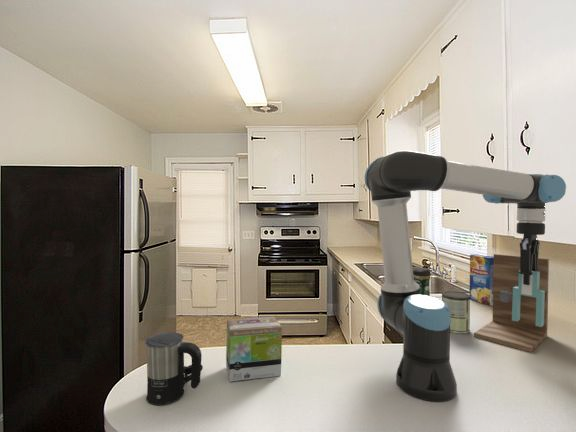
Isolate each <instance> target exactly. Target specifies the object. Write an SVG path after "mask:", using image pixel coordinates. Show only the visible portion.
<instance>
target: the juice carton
mask: <svg viewBox="0 0 576 432" xmlns="http://www.w3.org/2000/svg"><path fill="white" fill-rule="evenodd" d="M493 262H494V255H488V254H482V253H480V254H479V253H478V254H470V255H469V293H468V294H469V295H470V301H474V302H476V303H480V304H484V305H487V306H493Z"/></svg>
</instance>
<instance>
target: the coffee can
mask: <svg viewBox="0 0 576 432" xmlns="http://www.w3.org/2000/svg"><path fill="white" fill-rule="evenodd" d="M441 301H443V302H444V303H446V304H447V306H448V307H449V309H450V317H451V324H450V333H454V334H462V333H463V334H468V333H470V332H471V330H470V328H471V327H470V323H471V317H470V316H471V312H470V311H471V300H470V295H469V293H465V292H461V291H456V290H455V291H453V290H452V291H451V290H449V291H448V290H447V291H443V292H441Z"/></svg>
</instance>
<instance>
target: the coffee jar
mask: <svg viewBox="0 0 576 432" xmlns="http://www.w3.org/2000/svg"><path fill="white" fill-rule="evenodd" d="M412 267H413V266H412ZM413 277H414V281H415V282H416V283H417V284H418V285H419V286H420V294H421V295H427V296H430V297H431V295H430V294H431V293H430V279H431V278H432V277H431V270H430V269H429V268H424V267H419V266H414V267H413Z"/></svg>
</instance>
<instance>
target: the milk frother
mask: <svg viewBox="0 0 576 432" xmlns="http://www.w3.org/2000/svg"><path fill="white" fill-rule="evenodd" d="M183 339H184V335H183V334H182V333H179V332H161V333H158V334H154V335H152V336H150V337H148V338H147V339H146V340H145V342H144V343H145V346H146V368H147V369H146V370H147V371H146V375H147V376H146V377H147V382H146V383H147V385H146V387H147V390H146V393H147V394H146V395H145V399H146V401H147V403H148V404H150V405H151V406H152V405H153V406H164V405H170V404H172V403H174V402H176V401H178V400H180V399H181V398H182V397H183V396H184V395H185V389H184V388H185V385H186V384H188V383H189V382H190V387H191V388H192V389H196V388H198V387H199V385H200V383H201V372H202V371H203V368H204V366H203V365H202V358H203V357H202V351H201V349H200V347H199V346H198V345H197V344H195V343H193V342H186V341H183ZM185 354H188V355H189V356H190V357H191V364H189V365H188V366H186V365H185Z"/></svg>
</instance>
